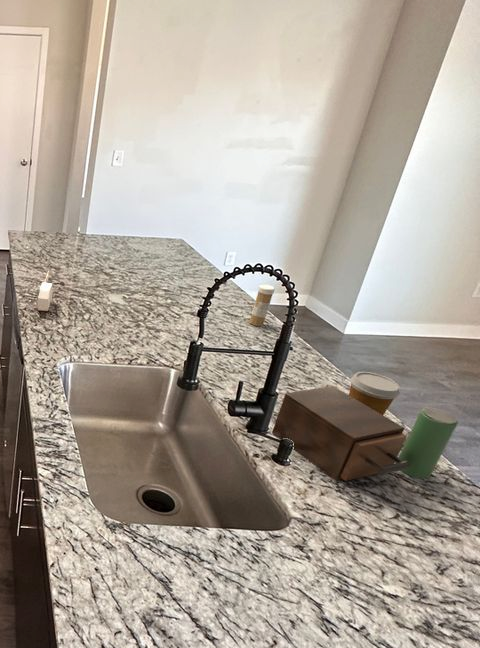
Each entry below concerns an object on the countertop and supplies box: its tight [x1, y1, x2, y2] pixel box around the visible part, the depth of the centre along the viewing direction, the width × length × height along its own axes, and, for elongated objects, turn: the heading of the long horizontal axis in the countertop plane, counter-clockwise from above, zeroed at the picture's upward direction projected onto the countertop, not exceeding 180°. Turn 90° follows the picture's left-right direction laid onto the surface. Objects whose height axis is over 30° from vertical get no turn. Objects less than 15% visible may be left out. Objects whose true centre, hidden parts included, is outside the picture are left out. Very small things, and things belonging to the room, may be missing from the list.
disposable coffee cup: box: [348, 371, 401, 416], centre depth 127 cm, size 10×10×12 cm
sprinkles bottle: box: [248, 284, 275, 327], centre depth 178 cm, size 5×5×13 cm
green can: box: [395, 406, 459, 480], centre depth 111 cm, size 6×6×14 cm
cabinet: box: [271, 385, 405, 482], centre depth 117 cm, size 17×14×11 cm
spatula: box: [36, 270, 53, 312], centre depth 195 cm, size 38×8×4 cm
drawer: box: [340, 432, 411, 482], centre depth 113 cm, size 20×13×9 cm, turn 17°
